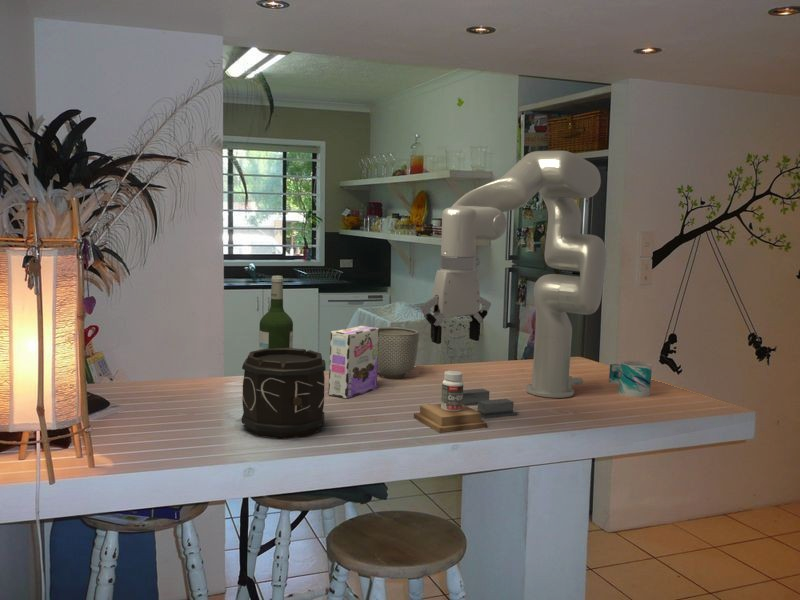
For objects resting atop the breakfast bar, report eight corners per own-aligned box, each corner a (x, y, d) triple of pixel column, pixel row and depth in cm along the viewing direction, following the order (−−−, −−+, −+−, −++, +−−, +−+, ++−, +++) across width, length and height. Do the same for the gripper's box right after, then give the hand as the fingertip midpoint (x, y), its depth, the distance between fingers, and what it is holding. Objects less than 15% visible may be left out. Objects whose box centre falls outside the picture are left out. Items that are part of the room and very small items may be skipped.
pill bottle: (447, 412, 164) (449, 375, 163) (437, 407, 168) (438, 371, 167) (466, 411, 166) (468, 374, 165) (455, 405, 171) (456, 369, 170)
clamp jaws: (481, 399, 190) (482, 387, 189) (517, 415, 176) (517, 402, 176) (451, 401, 186) (451, 390, 185) (484, 418, 172) (485, 405, 172)
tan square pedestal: (459, 413, 176) (459, 400, 175) (486, 427, 165) (487, 414, 164) (413, 417, 170) (414, 404, 170) (439, 432, 160) (440, 419, 159)
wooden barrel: (250, 444, 147) (252, 365, 145) (232, 419, 163) (233, 348, 161) (337, 436, 154) (340, 361, 152) (312, 413, 170) (314, 345, 168)
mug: (634, 398, 197) (637, 367, 196) (601, 388, 207) (603, 358, 206) (656, 395, 201) (658, 365, 200) (622, 386, 211) (624, 356, 210)
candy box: (346, 399, 184) (348, 333, 182) (327, 395, 187) (329, 330, 185) (377, 389, 196) (380, 327, 194) (359, 385, 199) (361, 324, 197)
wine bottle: (297, 400, 181) (300, 277, 178) (271, 405, 176) (274, 278, 172) (277, 393, 187) (280, 274, 183) (251, 398, 181) (253, 275, 177)
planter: (372, 369, 220) (374, 325, 218) (419, 372, 218) (421, 328, 216) (364, 379, 206) (365, 333, 204) (414, 383, 204) (416, 336, 203)
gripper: (482, 262, 170) (479, 335, 173) (414, 263, 163) (412, 340, 165) (500, 265, 164) (497, 341, 166) (431, 267, 156) (429, 347, 159)
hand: (455, 341), depth 166 cm, fingers open, 9 cm apart
